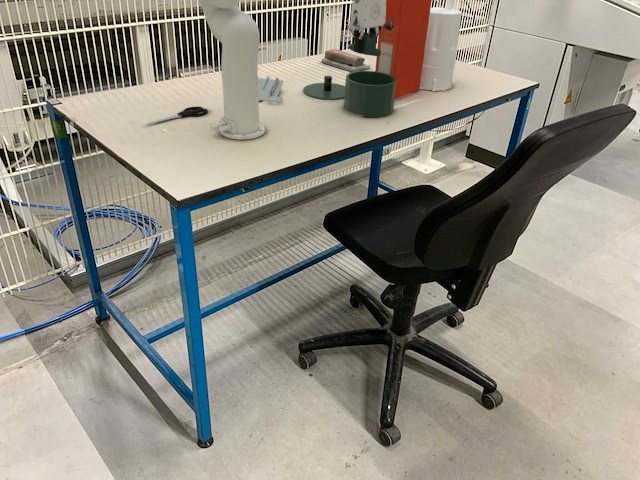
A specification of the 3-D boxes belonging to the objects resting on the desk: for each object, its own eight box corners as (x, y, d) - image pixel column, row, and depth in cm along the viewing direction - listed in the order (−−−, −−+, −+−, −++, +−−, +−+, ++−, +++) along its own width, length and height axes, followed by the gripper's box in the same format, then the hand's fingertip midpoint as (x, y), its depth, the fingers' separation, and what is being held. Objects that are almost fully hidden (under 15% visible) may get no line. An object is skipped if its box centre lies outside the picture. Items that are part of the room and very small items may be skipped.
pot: (369, 121, 158) (372, 89, 152) (333, 107, 167) (335, 76, 161) (402, 110, 167) (406, 79, 161) (366, 98, 176) (369, 68, 170)
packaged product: (320, 50, 207) (337, 47, 214) (320, 62, 210) (337, 59, 216) (354, 60, 197) (371, 56, 203) (353, 73, 200) (370, 68, 206)
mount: (345, 49, 153) (346, 31, 150) (355, 47, 156) (356, 29, 153) (374, 57, 147) (376, 38, 144) (384, 54, 150) (386, 36, 147)
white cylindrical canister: (437, 93, 183) (455, -11, 165) (402, 83, 191) (414, -17, 172) (458, 84, 193) (477, -15, 174) (423, 75, 201) (438, -20, 182)
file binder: (372, 95, 178) (382, -6, 160) (400, 85, 189) (412, -11, 171) (391, 101, 174) (404, -3, 156) (419, 90, 185) (433, -8, 167)
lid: (326, 105, 168) (327, 87, 165) (293, 91, 178) (293, 74, 175) (361, 95, 178) (362, 78, 175) (328, 83, 188) (328, 67, 185)
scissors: (154, 129, 145) (211, 113, 158) (153, 126, 145) (211, 110, 158) (140, 122, 149) (198, 107, 162) (140, 120, 149) (197, 105, 161)
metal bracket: (247, 70, 176) (290, 75, 174) (249, 85, 181) (291, 90, 178) (234, 95, 167) (279, 99, 165) (236, 110, 172) (280, 115, 169)
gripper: (358, -14, 134) (353, 58, 144) (401, -19, 144) (393, 49, 154) (338, -18, 138) (334, 52, 148) (381, -22, 148) (374, 44, 158)
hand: (364, 50), depth 151 cm, fingers closed on mount, 4 cm apart
